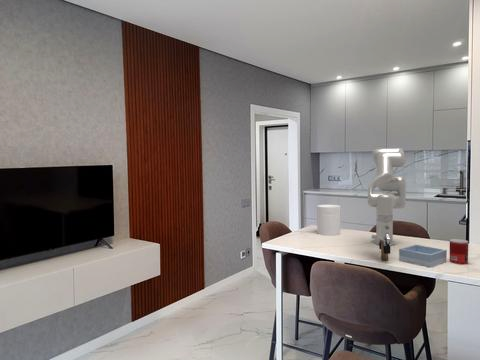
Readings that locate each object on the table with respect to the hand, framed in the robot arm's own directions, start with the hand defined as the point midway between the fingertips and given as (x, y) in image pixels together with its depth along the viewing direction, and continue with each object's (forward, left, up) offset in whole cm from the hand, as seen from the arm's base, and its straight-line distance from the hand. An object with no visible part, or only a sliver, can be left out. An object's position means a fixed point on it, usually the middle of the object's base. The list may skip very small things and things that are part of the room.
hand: (384, 251), depth 185 cm
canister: (-65, +32, -5) cm, 73 cm away
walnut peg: (0, 0, -5) cm, 5 cm away
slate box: (+13, +13, -5) cm, 19 cm away
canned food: (+25, +25, -5) cm, 36 cm away
